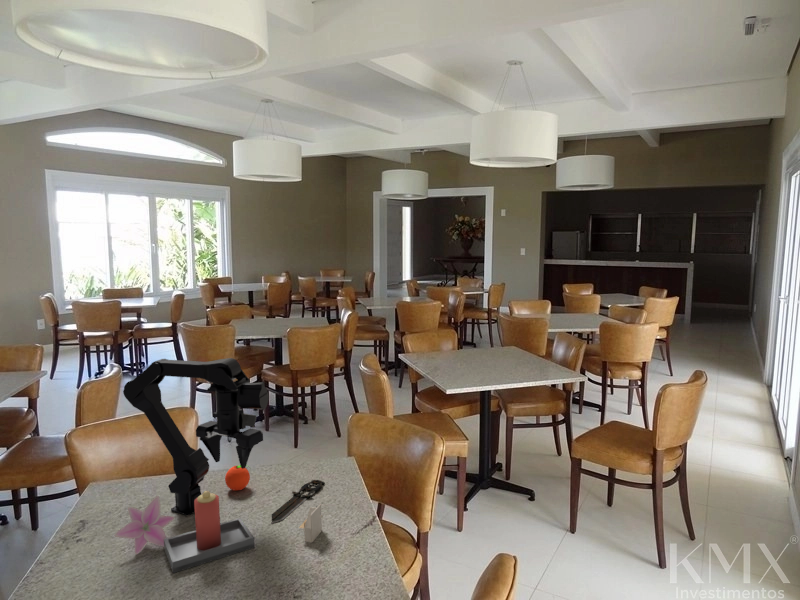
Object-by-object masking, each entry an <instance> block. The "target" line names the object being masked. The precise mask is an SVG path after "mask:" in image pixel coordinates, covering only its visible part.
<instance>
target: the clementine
mask: <svg viewBox="0 0 800 600" xmlns="http://www.w3.org/2000/svg"><path fill="white" fill-rule="evenodd" d="M247 467H248V468H250V466H249V465H248V464H246V467H245V468H243V469H242V468H241V465H234V466H232V467H230V468H229V469H227V470H228V471H227V472H226V473H225V475H224V476H225V477H224V478H225V479H224V481H225V485H226V486H227V488H228V489H229V490H231V491H234V492H235V491H242V490H243V489H245V488H246V487H247V485H249V483H250V480H251V475H250V471H249V470H248V469H247Z"/></svg>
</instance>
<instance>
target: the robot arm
mask: <svg viewBox="0 0 800 600" xmlns="http://www.w3.org/2000/svg"><path fill="white" fill-rule="evenodd" d="M165 377H175V378H189V379H190V378H192V379H194V378H195V379H202V380H204V381H207V382H208V383H211V385H210V386H209V387H208V388H207V389H206V391H207V392H212V393H214V392H215V405H216V406H215V407H216V410H215V411H214V412H212V417H214V418H216V421H214V420H209V421H207V422H203V423H202V424H199V425H198V426H196V429H195V437H196V438H199V441H201V442H202V443H203V445H204V446H205V447H206V449H207V450H208V452H209V453H210V455H211V456H212V458H213V461H214V462H215V463H219V462H220V460H221V439H222V437H227V438H231V439H235V443H236V444H237V445H236V446H235V450H236V453H237V458H238V462H239V464H240V465H241V468H242V469H243V468H247V466H246V465H248V460H249V457H250V455H251V452H252V450H253V448H254V447H255V446H256V445H258V444H259V443H261V442H263V441H264V433H263V431H262V430H261V429H254V428H255V424H256V421H257V415H256V414H249V413H245V411H244V410H245V409H249V410H265V409H266V408H267V406H268V403H269V399H270V398H269V397H270V396H269V391H268V389H267V387H265V382H263V381H262V382H250V378H249V377H248V376H247V375H246V373H245V372H244V371H243V369H242V368H241V364H240V363H239V361H238V360H237V359H236V358H234V357H229V358H228V357H227V358H221V359H216V360H212V361H209V360H208V361H197V360H196V361H195V360H178V359H167V358H161V359H158V360H155V361H153V362H151V364H150V365H148V367H147V368H145V369H144V370H143V371H142V372H141V373H140V374H138V375H137V376H136V377H135V378H134V379H132V380H128V382H126V383H125V385H124V388H123V390H122V392H123V396H124V398H125V399H126V400H127V401H128V402H129V404H130V405H131V406H132V407H133V408H135V409H137V410H138V411H140V412H142V413H144V415H145V417H146V418H147V419H148V422H149V423H150V424H151V426H152V427H153V429H154V431H155V432H156V434H157V435H158V437H159V439H160V440H161V441H162V443H163V444H164V446H165V448H166V450H167V451H168V452H169V454H170V456H171V457H172V465H173V467H172V468H173V472H174V474H175V477H174V479H173V480H172V481H171V482H170V483H169V484H168V486H167V487H168V490H169V491H170V493H171V494H174V497H175V506H173V507H171V508H170V510H171V511H172V512H175V513H178V514H180V515H184V516H189V515H191V514H193V513H195V505H194V500H195V499H196V498H198V496H200V495H202V492H201V486H200V485H199V484H200V483H201V482H202V481H204V478H205V476H207V474H208V473H209V470H210V464H209V462H208V461H209V460H210V459H209V458H208V456H206V455H205V454H204V450H203V449H202V448H201V447H199V448H198V449H194V448H193V447H191V446H190V445H189V443H188V441H187V440H186V438H185V437H184V435H183V434H182V433H181V431H180V429H179V428H178V426H177V424H176V423H175V421H174V420H173V418H172V417H171V415H170V414H169V412H168V411H167V409H166V407H165V405H164V404H163V402H162V392H161V388H160V386H159V384H161V383H162V382H163V380H164V379H165ZM246 427H252V428H248V429H247V430H244V429H246ZM241 430H243V431H241Z"/></svg>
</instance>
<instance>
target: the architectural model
mask: <svg viewBox="0 0 800 600" xmlns="http://www.w3.org/2000/svg"><path fill="white" fill-rule="evenodd" d="M322 518H323V514H322V504H321V503H319V505H317V506H315V507H313V506H310V507H309V510H308V514H307V517H306V518H305V520H304V521H303V523H301V524H300V525H299V527H298V530H303V531H304V542H306V543H313V542H314V541H315V540H316V539H317V537H319V535H320V534H321V532H322V531H323V529H322V528H323V523H322V520H323V519H322Z"/></svg>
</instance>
